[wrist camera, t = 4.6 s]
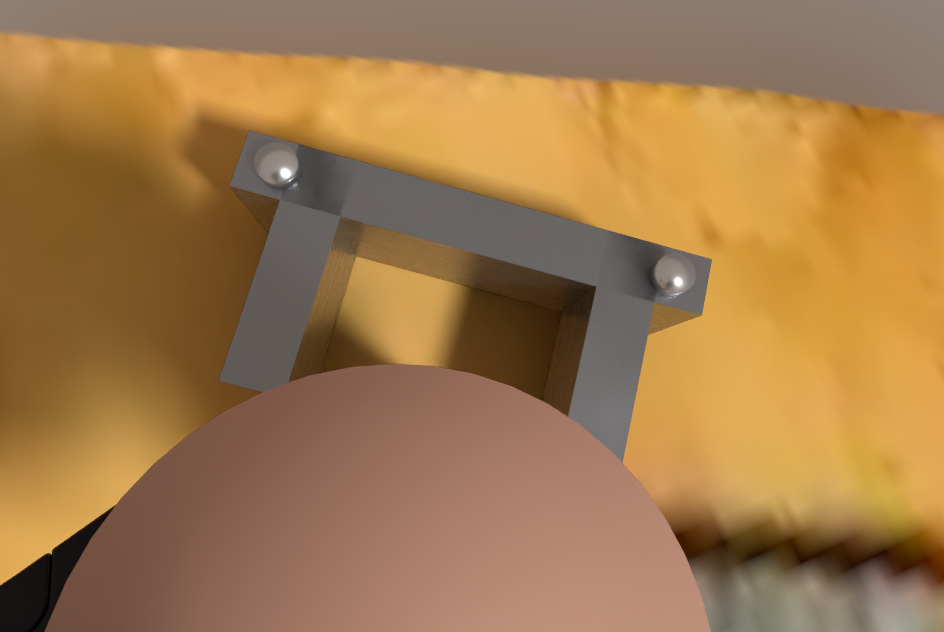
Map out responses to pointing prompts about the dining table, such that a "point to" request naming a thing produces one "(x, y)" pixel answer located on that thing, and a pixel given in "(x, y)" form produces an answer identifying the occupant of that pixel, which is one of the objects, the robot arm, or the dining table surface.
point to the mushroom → (385, 520)
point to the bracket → (449, 273)
